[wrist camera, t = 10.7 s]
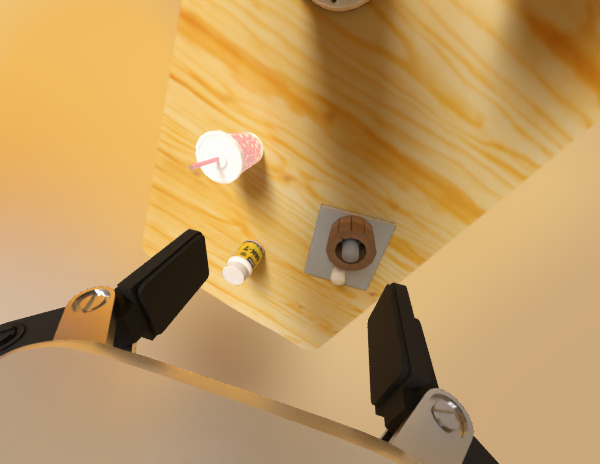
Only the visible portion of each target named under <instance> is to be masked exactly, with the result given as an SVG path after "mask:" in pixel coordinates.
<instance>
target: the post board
mask: <svg viewBox="0 0 600 464" xmlns="http://www.w3.org/2000/svg"><path fill="white" fill-rule="evenodd" d="M349 215H351V216H352V215H355V216H358V217H362V218H363V219H365V220H366V221H367V222H369V223H370V224H371V225H372V228H373V233H374V238H375V244H376V251H377V254H376V256H375V258H374V260H373V263H372V264H370V265H369V266H367V267H366V268H364V269H362V270H358V271H346V270H343V269H339V268H337V267H336V266H335V265H334V264H332V263H331V262H330V261H329V259H328V256H327V253H326V246H327V241H328V237H329V233H330V229H331V226H332V224H333V223H334V222H335V221H337V220H338V219H339V218H341V217H344V216H349ZM395 228H396V225H395V223H393V222H389V221H385V220H381V219H377V218H373V217H369V216H366V215H362V214H358V213H354V212H350V211H346V210H342V209H338V208H334V207H331V206H327V205H323V204H321V207H320V211H319V215H318V219H317V223H316V227H315V231H314V235H313V239H312V243H311V247H310V251H309V255H308V259H307V263H306V267H305V271H304V273H308V274H311V275H314V276H318V277H321V278H325V279H328V280H331V282H332V284H334V285H336V286H341V285H343V284H345V285H348V286H352V287H355V288H359V289H362V290H365V291H366V290H367V287H368V285H369V283H370V281H371V279H372V277H373V275H374V273H375V270H376V268H377V266H378V264H379V262H380V260H381V258H382V256H383V253H384V251H385V249H386V247H387V245H388V243H389V241H390V239H391V236H392V234H393V232H394V230H395ZM340 242H341V243H342V244H343V246H342V258H343V260H344V261H346V262H349V263H352V262H355V261H357V260H358V258H359V244H361V243H362V242H361V241H360V240H357V239H353V238H348V239H343V240H341V241H340Z"/></svg>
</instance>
